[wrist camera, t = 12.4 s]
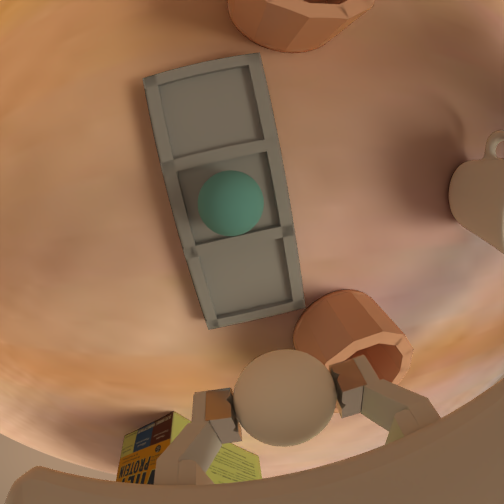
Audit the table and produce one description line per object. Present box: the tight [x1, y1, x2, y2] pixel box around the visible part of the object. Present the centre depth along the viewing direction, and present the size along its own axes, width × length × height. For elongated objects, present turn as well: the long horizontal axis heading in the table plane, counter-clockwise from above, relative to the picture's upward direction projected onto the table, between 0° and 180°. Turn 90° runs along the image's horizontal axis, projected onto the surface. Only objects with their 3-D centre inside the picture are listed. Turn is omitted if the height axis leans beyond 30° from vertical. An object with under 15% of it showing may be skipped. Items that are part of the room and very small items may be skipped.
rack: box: [143, 53, 306, 330], centre depth 19 cm, size 19×8×2 cm, turn 11°
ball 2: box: [233, 349, 337, 447], centre depth 10 cm, size 4×4×4 cm
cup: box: [449, 130, 504, 254], centre depth 18 cm, size 11×8×8 cm
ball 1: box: [198, 170, 264, 236], centre depth 17 cm, size 4×4×4 cm
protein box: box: [116, 412, 262, 485], centre depth 23 cm, size 10×15×16 cm
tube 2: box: [293, 290, 414, 413], centre depth 22 cm, size 9×9×7 cm
